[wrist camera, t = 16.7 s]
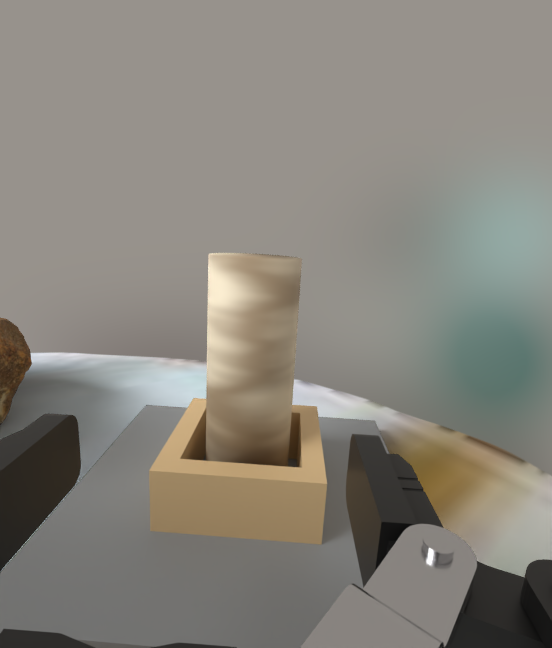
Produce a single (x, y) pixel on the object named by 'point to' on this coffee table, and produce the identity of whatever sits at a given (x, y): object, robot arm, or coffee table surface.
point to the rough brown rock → (11, 363)
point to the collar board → (192, 540)
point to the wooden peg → (251, 356)
